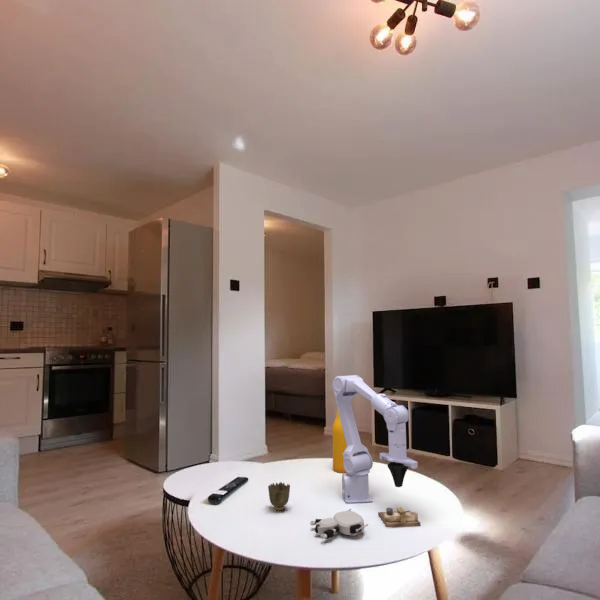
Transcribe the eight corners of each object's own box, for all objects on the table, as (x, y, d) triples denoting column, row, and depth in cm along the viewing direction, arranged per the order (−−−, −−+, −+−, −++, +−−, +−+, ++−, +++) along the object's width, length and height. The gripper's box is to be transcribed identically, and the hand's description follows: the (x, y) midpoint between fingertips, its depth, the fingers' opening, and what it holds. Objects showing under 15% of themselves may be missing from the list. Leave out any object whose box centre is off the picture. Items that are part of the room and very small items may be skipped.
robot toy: (323, 549, 118) (371, 537, 122) (321, 532, 118) (370, 521, 123) (308, 531, 129) (353, 520, 134) (307, 516, 130) (352, 506, 134)
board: (386, 527, 129) (386, 512, 129) (378, 515, 138) (377, 501, 139) (420, 526, 130) (419, 511, 130) (409, 513, 139) (409, 499, 140)
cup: (294, 509, 144) (294, 485, 145) (279, 516, 139) (279, 490, 139) (279, 504, 149) (279, 480, 150) (263, 510, 144) (263, 485, 144)
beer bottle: (339, 466, 194) (338, 401, 197) (357, 469, 189) (356, 403, 192) (328, 471, 187) (327, 403, 190) (347, 474, 182) (346, 405, 185)
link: (386, 521, 130) (385, 516, 130) (383, 517, 134) (383, 512, 134) (419, 521, 131) (419, 515, 131) (416, 516, 134) (415, 511, 134)
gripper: (372, 441, 144) (373, 482, 142) (406, 449, 132) (408, 495, 131) (387, 438, 148) (388, 478, 147) (421, 446, 136) (422, 490, 135)
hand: (398, 486), depth 139 cm, fingers closed
